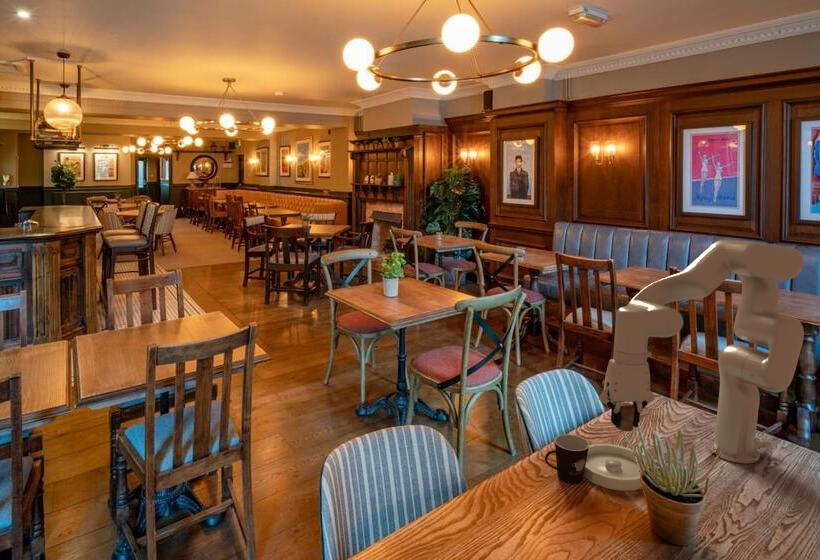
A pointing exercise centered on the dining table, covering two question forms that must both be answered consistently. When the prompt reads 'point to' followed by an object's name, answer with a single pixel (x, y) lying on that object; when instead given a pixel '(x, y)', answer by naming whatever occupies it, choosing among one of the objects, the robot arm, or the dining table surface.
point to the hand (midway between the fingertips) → (624, 424)
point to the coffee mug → (570, 457)
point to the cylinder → (626, 416)
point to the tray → (612, 467)
